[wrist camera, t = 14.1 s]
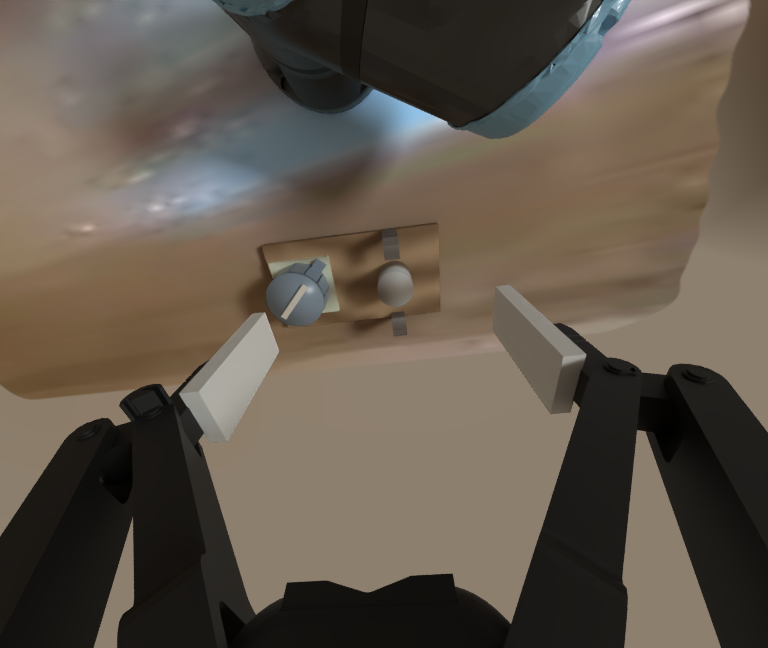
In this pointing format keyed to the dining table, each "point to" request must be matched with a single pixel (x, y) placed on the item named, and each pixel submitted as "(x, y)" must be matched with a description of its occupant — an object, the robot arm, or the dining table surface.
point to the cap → (298, 293)
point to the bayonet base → (370, 272)
